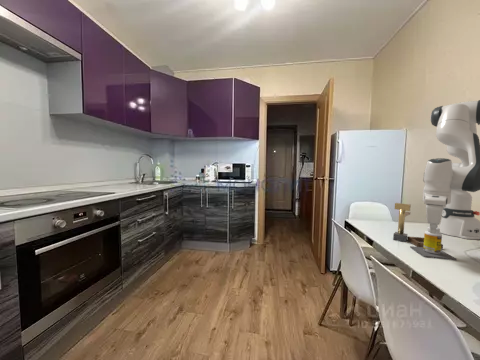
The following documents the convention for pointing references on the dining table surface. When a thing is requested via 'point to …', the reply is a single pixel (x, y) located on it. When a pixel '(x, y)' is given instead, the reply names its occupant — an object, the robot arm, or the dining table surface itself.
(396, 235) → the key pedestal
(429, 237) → the supplement bottle
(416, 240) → the cup collar
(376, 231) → the dining table surface
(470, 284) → the dining table surface
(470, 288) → the dining table surface
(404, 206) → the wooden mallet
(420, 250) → the rubber mat
